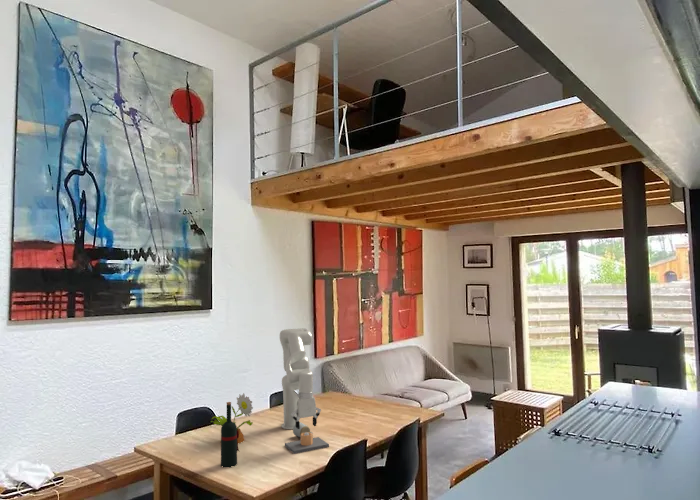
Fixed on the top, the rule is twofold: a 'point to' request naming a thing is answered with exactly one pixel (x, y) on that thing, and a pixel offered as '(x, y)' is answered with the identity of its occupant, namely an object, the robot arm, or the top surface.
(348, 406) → the top surface
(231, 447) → the wine bottle
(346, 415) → the top surface
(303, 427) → the ceramic mug
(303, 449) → the post base
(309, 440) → the collar
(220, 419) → the decorative plant
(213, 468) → the top surface
